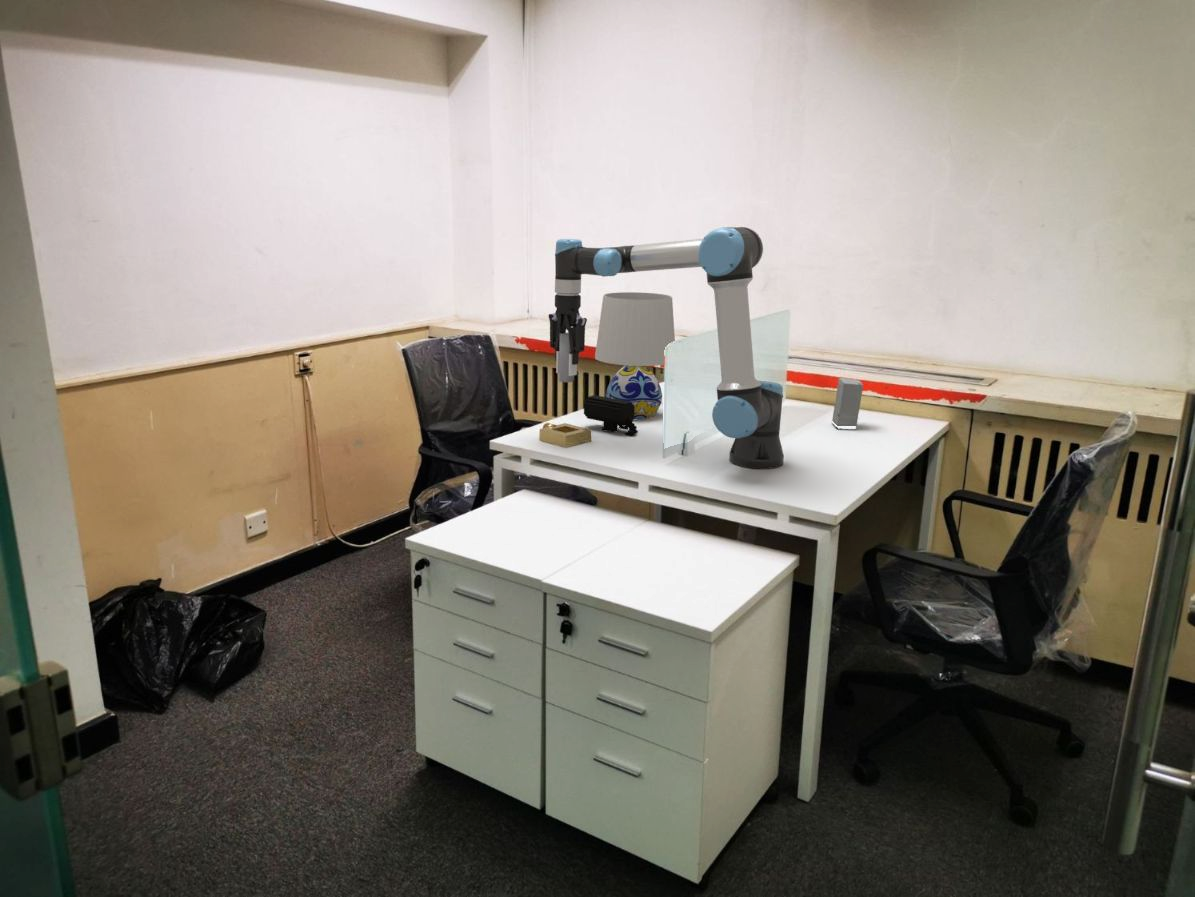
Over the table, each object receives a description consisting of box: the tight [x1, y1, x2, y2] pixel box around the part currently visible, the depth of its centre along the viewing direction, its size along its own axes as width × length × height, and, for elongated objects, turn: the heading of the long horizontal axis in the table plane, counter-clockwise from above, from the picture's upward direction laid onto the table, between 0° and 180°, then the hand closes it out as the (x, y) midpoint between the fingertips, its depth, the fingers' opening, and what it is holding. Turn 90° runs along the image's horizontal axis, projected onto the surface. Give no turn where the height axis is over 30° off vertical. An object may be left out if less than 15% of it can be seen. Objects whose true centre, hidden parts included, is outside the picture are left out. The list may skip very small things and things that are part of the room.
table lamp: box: [594, 291, 676, 421], centre depth 300 cm, size 27×27×40 cm
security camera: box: [583, 394, 639, 437], centre depth 282 cm, size 7×18×10 cm, turn 53°
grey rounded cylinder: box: [558, 332, 575, 383], centre depth 264 cm, size 4×4×14 cm
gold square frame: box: [538, 422, 592, 449], centre depth 271 cm, size 14×11×4 cm
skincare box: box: [831, 377, 864, 427], centre depth 294 cm, size 8×7×16 cm
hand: (566, 373), depth 266 cm, fingers closed on grey rounded cylinder, 4 cm apart
